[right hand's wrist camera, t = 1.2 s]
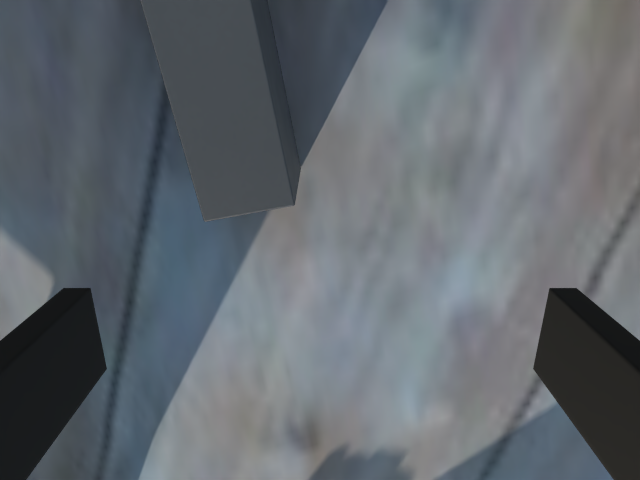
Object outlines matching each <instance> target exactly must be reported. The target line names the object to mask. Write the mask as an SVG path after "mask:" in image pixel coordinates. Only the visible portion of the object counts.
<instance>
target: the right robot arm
mask: <svg viewBox="0 0 640 480" xmlns="http://www.w3.org/2000/svg"><path fill="white" fill-rule="evenodd" d="M106 369H107V368H106V363H105V358H104V353H103V348H102V343H101V338H100V333H99V328H98V323H97V318H96V313H95V308H94V304H93V299H92V294H91V289H90V288H63V289H62V290H61V291H60V292H58V293H57V294H56V295H55V296H54V297H52V298H51V299H50V300H49V301H48V302H46V303H45V304H44V305H43V306H42V307H40V308H39V309H38V310H37V311H36V312H34V313H33V314H32V315H31V316H30V317H28V318H27V319H26V320H25V321H24V322H22V323H21V324H20V325H19V326H18V327H16V328H15V329H14V330H13V331H12V332H10V333H9V334H8V335H7V336H6V337H4V338H3V339H2V340H1V341H0V480H26V479H27V478H28V476H29V475H30V474H31V472H32V471H33V470H34V468H35V467H36V465H37V464H38V463H39V461H40V460H41V458H42V457H43V456H44V454H45V453H46V452H47V450H48V449H49V447H50V446H51V445H52V443H53V442H54V441H55V439H56V438H57V436H58V435H59V434H60V432H61V431H62V430H63V428H64V427H65V425H66V424H67V423H68V421H69V420H70V419H71V417H72V416H73V414H74V413H75V412H76V410H77V409H78V408H79V406H80V405H81V403H82V402H83V401H84V399H85V398H86V397H87V395H88V394H89V392H90V391H91V390H92V388H93V387H94V386H95V384H96V383H97V381H98V380H99V379H100V377H101V376H102V375H103V373H104V372H105V370H106ZM533 369H534V370H535V372H536V373H537V375H538V376H539V377H540V379H541V380H542V381H543V383H544V384H545V386H546V387H547V388H548V390H549V391H550V392H551V394H552V395H553V397H554V398H555V399H556V401H557V402H558V403H559V405H560V406H561V408H562V409H563V410H564V412H565V413H566V414H567V416H568V417H569V419H570V420H571V421H572V423H573V424H574V425H575V427H576V428H577V430H578V431H579V432H580V434H581V435H582V436H583V438H584V439H585V441H586V442H587V443H588V445H589V446H590V447H591V449H592V450H593V452H594V453H595V454H596V456H597V457H598V458H599V460H600V461H601V463H602V464H603V465H604V467H605V468H606V470H607V471H608V472H609V474H610V475H611V476H612V478H613V479H614V480H640V341H639V340H638V339H637V338H636V337H634V336H633V335H632V334H631V333H630V332H628V331H627V330H626V329H625V328H624V327H622V326H621V325H620V324H619V323H618V322H616V321H615V320H614V319H613V318H612V317H610V316H609V315H608V314H607V313H606V312H604V311H603V310H602V309H601V308H600V307H598V306H597V305H596V304H595V303H594V302H592V301H591V300H590V299H589V298H588V297H586V296H585V295H584V294H583V293H582V292H580V291H579V290H578V289H577V288H550V289H549V294H548V299H547V304H546V308H545V313H544V318H543V323H542V328H541V333H540V338H539V343H538V348H537V353H536V358H535V363H534V368H533Z"/></svg>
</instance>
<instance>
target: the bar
mask: <svg viewBox="0 0 640 480" xmlns="http://www.w3.org/2000/svg"><path fill="white" fill-rule="evenodd" d="M140 1H141V4H142V8H143V11H144V15H145V18H146V21H147V25H148V28H149V32H150V35H151V39H152V42H153V46H154V49H155V53H156V56H157V60H158V63H159V67H160V70H161V73H162V77H163V80H164V84H165V87H166V91H167V94H168V98H169V101H170V105H171V108H172V112H173V115H174V119H175V122H176V126H177V129H178V132H179V136H180V139H181V143H182V146H183V150H184V153H185V157H186V160H187V164H188V167H189V171H190V174H191V178H192V181H193V184H194V188H195V191H196V195H197V198H198V202H199V205H200V209H201V212H202V216H203V219H204V221H205V222H207V221H212V220H218V219H223V218H229V217H234V216H240V215H245V214H251V213H256V212H262V211H267V210H273V209H278V208H284V207H289V206H294V205H295V200H296V194H297V188H298V182H299V176H300V170H301V167H300V162H299V157H298V152H297V147H296V142H295V137H294V132H293V127H292V122H291V117H290V112H289V107H288V102H287V97H286V92H285V87H284V82H283V77H282V72H281V67H280V62H279V57H278V52H277V47H276V42H275V37H274V32H273V27H272V22H271V17H270V12H269V7H268V2H267V0H140Z"/></svg>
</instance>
